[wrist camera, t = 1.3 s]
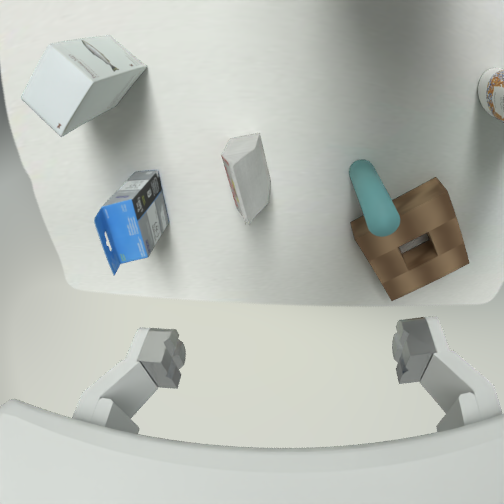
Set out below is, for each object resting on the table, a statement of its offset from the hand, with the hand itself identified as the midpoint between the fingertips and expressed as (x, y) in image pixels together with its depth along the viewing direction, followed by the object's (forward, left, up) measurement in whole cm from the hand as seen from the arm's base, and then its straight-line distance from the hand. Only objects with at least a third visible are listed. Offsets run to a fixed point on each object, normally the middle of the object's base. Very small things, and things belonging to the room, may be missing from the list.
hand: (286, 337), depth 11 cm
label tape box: (+22, -2, -31) cm, 38 cm away
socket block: (-6, +24, -31) cm, 40 cm away
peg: (-4, +11, -31) cm, 33 cm away
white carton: (+7, +2, -31) cm, 32 cm away
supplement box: (+13, -19, -31) cm, 39 cm away
